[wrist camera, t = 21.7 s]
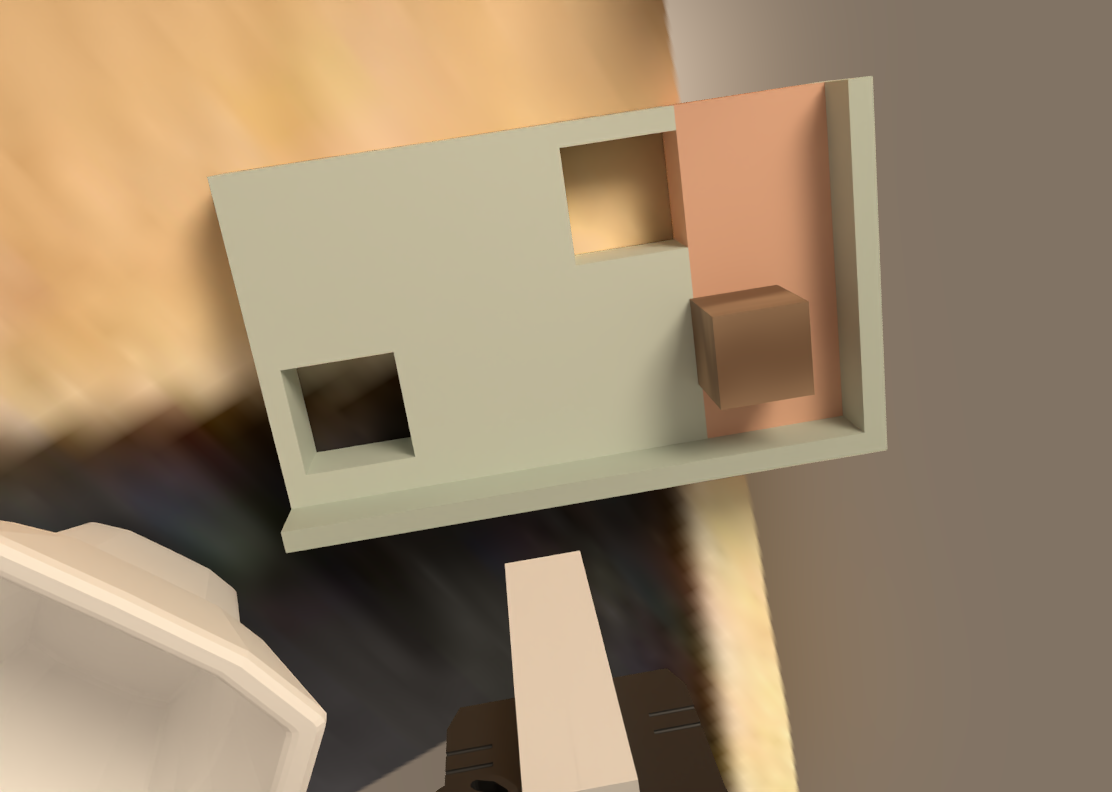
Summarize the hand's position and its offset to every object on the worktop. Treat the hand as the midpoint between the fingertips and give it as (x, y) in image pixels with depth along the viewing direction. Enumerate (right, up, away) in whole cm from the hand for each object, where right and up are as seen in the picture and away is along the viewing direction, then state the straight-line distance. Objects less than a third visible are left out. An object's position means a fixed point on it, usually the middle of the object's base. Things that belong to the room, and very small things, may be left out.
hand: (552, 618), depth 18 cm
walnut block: (+8, +7, +23) cm, 26 cm away
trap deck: (0, +9, +25) cm, 27 cm away
